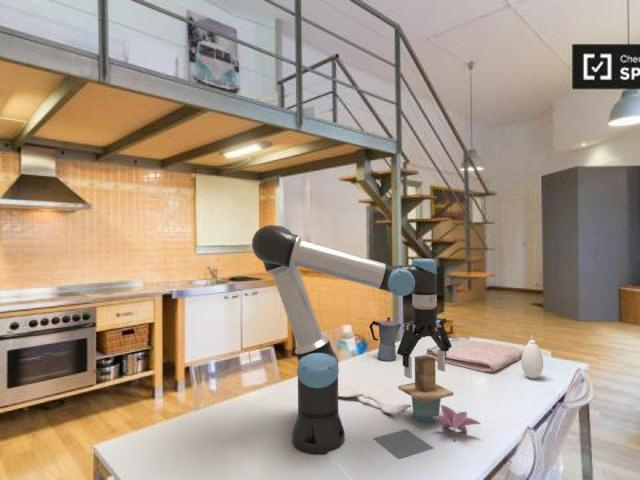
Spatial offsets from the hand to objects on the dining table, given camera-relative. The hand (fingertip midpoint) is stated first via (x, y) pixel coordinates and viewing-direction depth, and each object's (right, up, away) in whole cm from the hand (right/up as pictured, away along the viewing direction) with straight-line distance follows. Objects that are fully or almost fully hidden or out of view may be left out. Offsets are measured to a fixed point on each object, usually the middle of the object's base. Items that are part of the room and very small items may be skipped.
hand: (425, 373), depth 125 cm
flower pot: (0, -15, 0) cm, 15 cm away
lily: (+6, -15, -11) cm, 19 cm away
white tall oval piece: (+54, -14, +36) cm, 66 cm away
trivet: (-10, -15, -15) cm, 24 cm away
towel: (+41, -15, +64) cm, 78 cm away
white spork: (-18, -15, +13) cm, 27 cm away
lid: (0, -6, 0) cm, 6 cm away
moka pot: (-2, -15, +64) cm, 65 cm away
